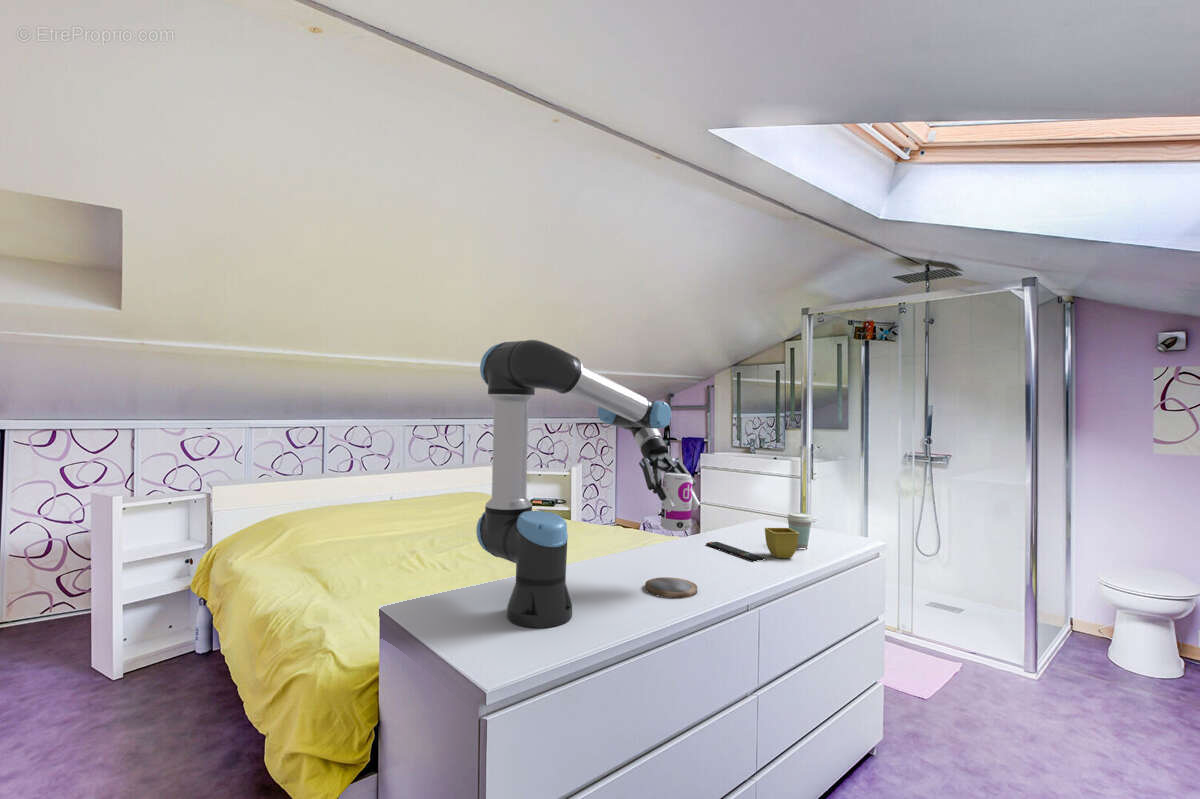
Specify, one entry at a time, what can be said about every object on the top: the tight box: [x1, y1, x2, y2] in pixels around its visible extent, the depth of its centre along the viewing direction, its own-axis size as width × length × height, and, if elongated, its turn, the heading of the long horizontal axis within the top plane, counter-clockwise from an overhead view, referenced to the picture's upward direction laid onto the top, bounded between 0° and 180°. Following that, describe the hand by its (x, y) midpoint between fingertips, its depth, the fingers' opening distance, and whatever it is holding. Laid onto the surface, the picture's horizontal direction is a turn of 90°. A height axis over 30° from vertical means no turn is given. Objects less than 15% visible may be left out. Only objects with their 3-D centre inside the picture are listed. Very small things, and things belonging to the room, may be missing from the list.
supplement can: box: [660, 472, 694, 532], centre depth 159 cm, size 8×8×15 cm
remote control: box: [705, 541, 766, 562], centre depth 199 cm, size 5×24×1 cm, turn 29°
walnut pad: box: [644, 576, 698, 599], centre depth 156 cm, size 14×14×1 cm
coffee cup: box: [786, 512, 813, 549], centre depth 208 cm, size 8×9×12 cm
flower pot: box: [764, 527, 799, 559], centre depth 195 cm, size 9×9×9 cm
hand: (684, 508), depth 156 cm, fingers closed on supplement can, 8 cm apart
